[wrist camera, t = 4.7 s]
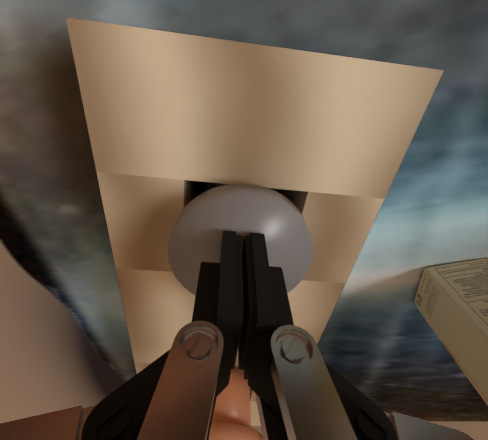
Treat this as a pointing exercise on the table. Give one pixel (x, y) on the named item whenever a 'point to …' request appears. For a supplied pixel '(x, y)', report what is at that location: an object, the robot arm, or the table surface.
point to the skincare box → (459, 314)
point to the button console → (236, 154)
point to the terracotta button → (234, 411)
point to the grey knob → (239, 231)
